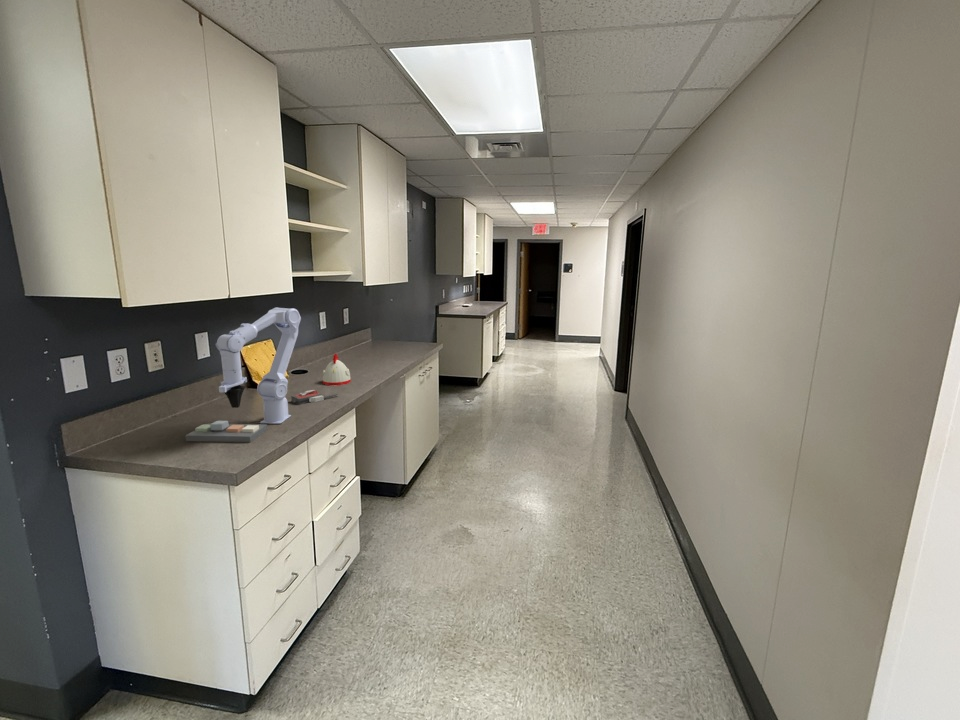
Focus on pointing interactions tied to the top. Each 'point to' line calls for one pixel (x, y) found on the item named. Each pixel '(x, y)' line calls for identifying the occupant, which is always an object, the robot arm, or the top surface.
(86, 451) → the top surface
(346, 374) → the kitchen timer
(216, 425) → the key slate
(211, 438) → the grey slotted tray
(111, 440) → the top surface
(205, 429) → the key sage
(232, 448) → the top surface
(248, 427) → the key ivory
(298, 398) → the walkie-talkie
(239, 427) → the key terracotta
